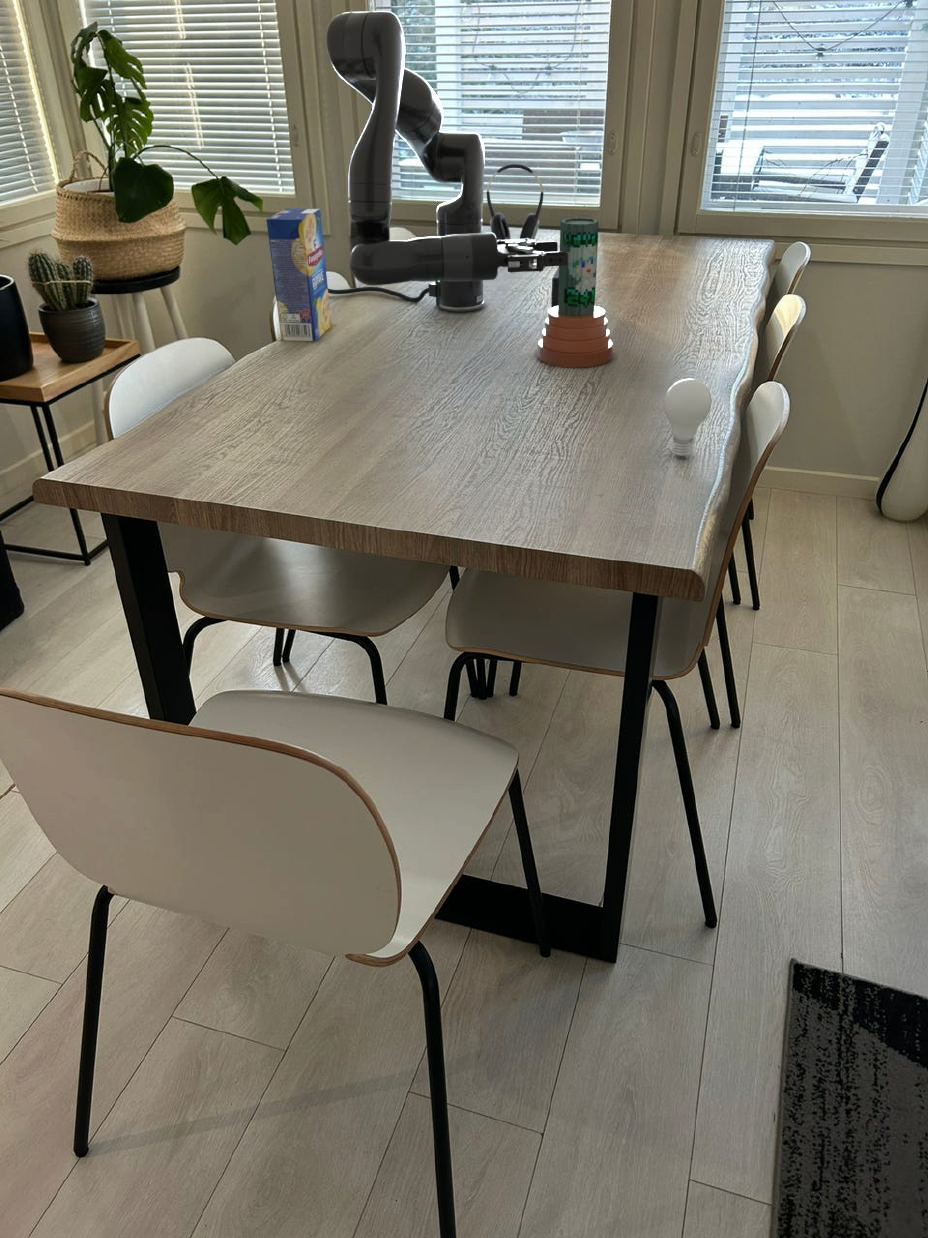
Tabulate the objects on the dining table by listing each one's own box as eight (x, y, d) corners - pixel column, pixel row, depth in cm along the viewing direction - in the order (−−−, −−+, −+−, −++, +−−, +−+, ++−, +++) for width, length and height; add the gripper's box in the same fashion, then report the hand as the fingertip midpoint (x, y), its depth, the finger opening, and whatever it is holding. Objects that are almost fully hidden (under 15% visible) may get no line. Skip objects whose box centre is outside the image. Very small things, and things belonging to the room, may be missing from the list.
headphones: (539, 251, 249) (541, 166, 238) (483, 249, 252) (482, 165, 241) (545, 244, 256) (546, 161, 245) (490, 243, 259) (489, 160, 248)
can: (570, 317, 167) (574, 225, 159) (552, 309, 172) (554, 219, 164) (600, 312, 170) (605, 221, 162) (581, 305, 174) (584, 216, 166)
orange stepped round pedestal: (523, 359, 174) (524, 314, 170) (564, 341, 183) (565, 297, 179) (586, 372, 167) (588, 325, 163) (625, 353, 176) (628, 308, 172)
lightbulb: (653, 448, 138) (660, 373, 132) (697, 446, 139) (706, 371, 133) (665, 466, 133) (673, 388, 127) (710, 464, 133) (720, 386, 127)
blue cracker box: (331, 325, 196) (320, 208, 184) (315, 341, 186) (302, 219, 175) (299, 324, 197) (285, 208, 185) (281, 340, 188) (266, 219, 176)
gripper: (473, 242, 156) (572, 237, 157) (462, 225, 168) (554, 221, 169) (473, 290, 160) (570, 285, 161) (463, 270, 172) (553, 266, 173)
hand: (562, 252), depth 165 cm, fingers open, 8 cm apart
